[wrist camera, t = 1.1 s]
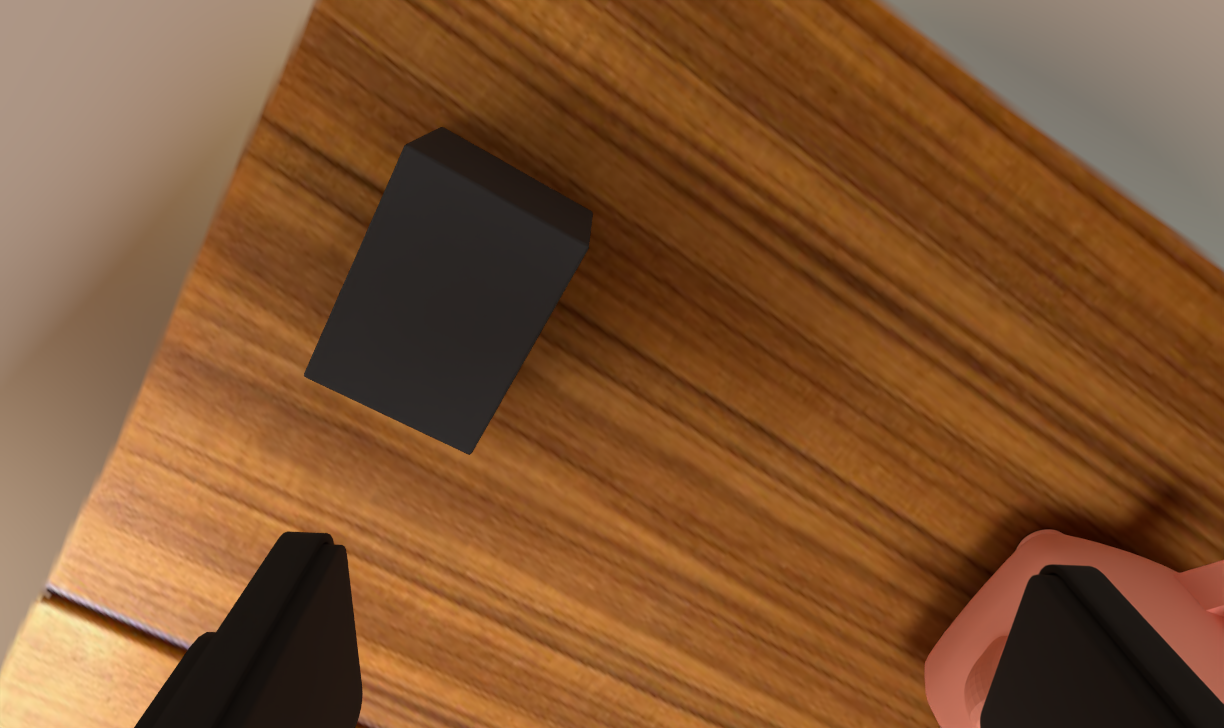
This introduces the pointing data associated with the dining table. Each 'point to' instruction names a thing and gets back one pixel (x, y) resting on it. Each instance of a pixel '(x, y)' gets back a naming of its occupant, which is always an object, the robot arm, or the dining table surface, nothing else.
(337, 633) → the robot arm
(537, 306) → the black block
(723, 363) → the dining table surface
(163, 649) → the dining table surface
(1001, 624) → the teapot
